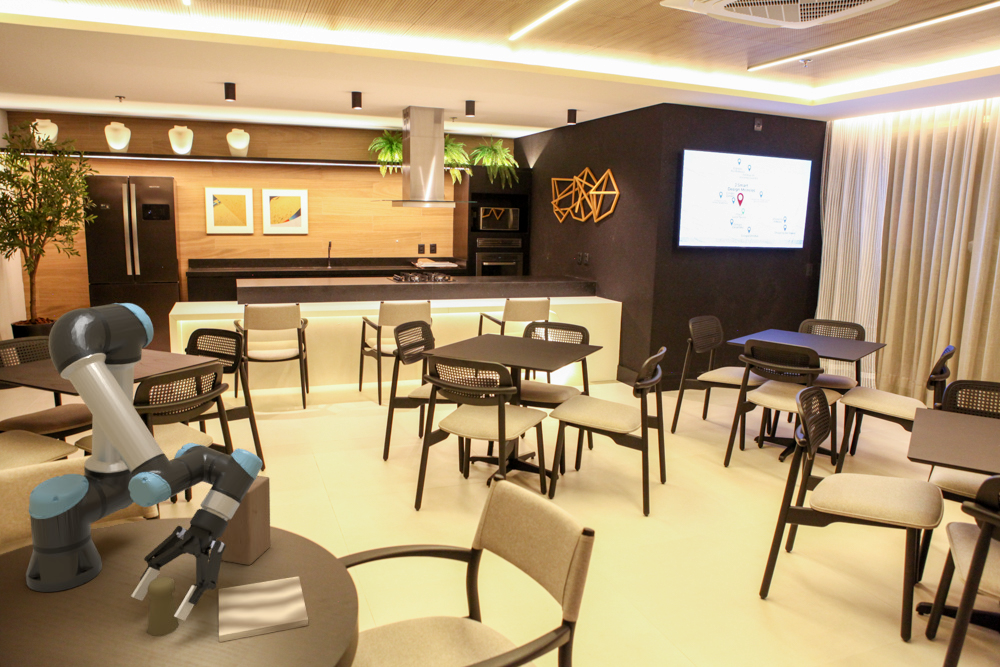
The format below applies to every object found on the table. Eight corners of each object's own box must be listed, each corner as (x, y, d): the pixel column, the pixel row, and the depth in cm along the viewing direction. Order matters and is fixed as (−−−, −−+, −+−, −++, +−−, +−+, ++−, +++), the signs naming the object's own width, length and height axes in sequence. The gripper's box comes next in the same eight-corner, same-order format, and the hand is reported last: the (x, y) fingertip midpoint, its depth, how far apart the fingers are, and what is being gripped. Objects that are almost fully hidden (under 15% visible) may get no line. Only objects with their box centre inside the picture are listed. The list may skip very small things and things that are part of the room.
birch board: (218, 595, 155) (218, 589, 154) (298, 581, 162) (298, 576, 161) (219, 642, 139) (218, 635, 138) (308, 625, 146) (308, 619, 145)
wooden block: (250, 566, 168) (248, 491, 164) (214, 560, 169) (212, 486, 166) (271, 546, 177) (270, 476, 173) (237, 541, 179) (235, 471, 175)
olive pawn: (157, 639, 138) (155, 591, 136) (141, 629, 141) (138, 582, 139) (184, 625, 143) (182, 578, 141) (168, 615, 146) (166, 569, 144)
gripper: (263, 535, 148) (209, 631, 137) (187, 507, 159) (131, 595, 148) (244, 522, 142) (186, 622, 132) (166, 495, 153) (107, 585, 143)
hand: (157, 608), depth 140 cm, fingers open, 13 cm apart
